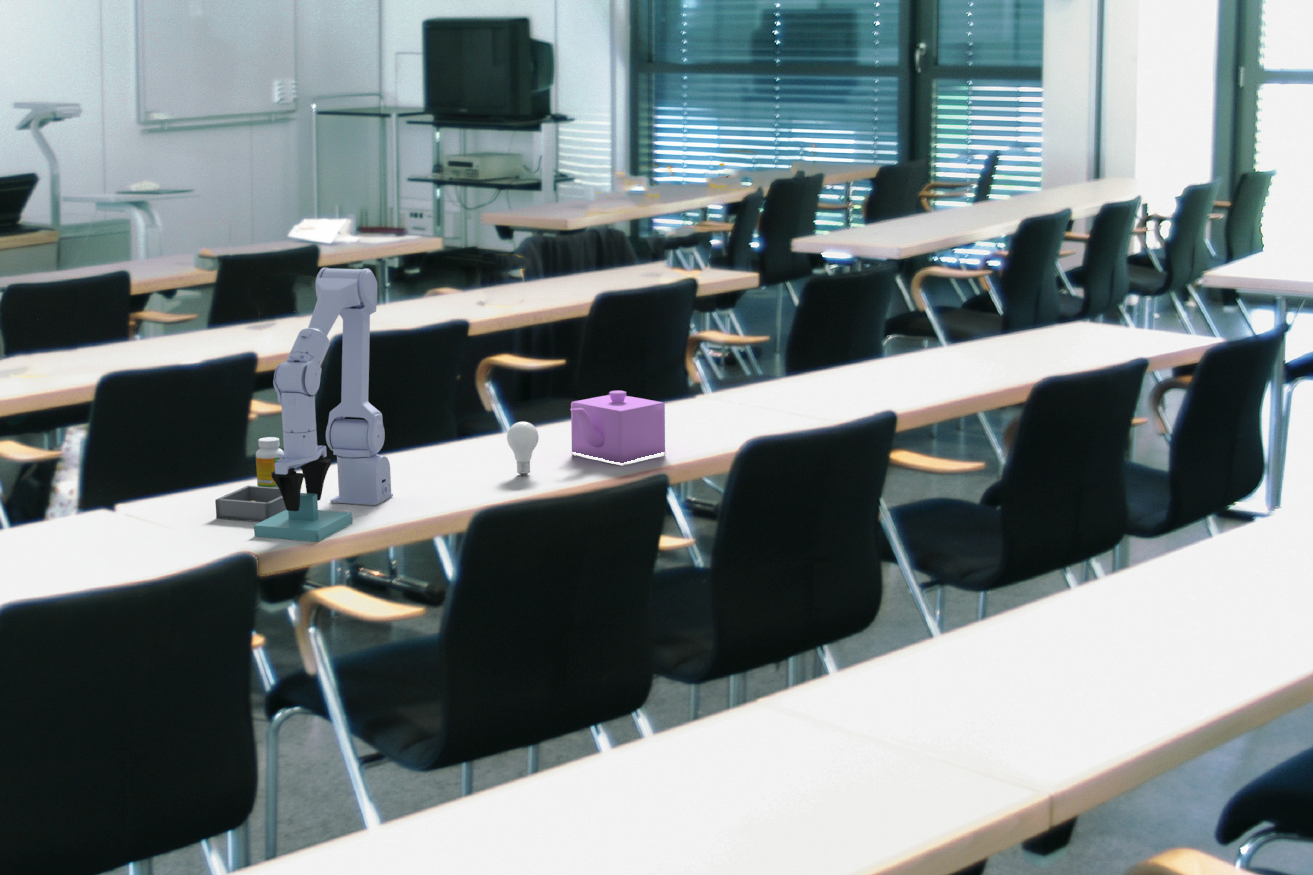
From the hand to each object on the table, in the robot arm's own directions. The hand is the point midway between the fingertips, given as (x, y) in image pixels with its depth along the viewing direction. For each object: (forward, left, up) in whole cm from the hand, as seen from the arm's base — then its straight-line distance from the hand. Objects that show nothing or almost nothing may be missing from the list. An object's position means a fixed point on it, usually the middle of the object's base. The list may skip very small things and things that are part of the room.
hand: (303, 505), depth 276 cm
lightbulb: (-22, -49, -5) cm, 54 cm away
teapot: (-34, -70, -5) cm, 78 cm away
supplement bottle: (+22, -26, -5) cm, 34 cm away
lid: (0, 0, -4) cm, 5 cm away
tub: (+14, -8, -4) cm, 17 cm away
